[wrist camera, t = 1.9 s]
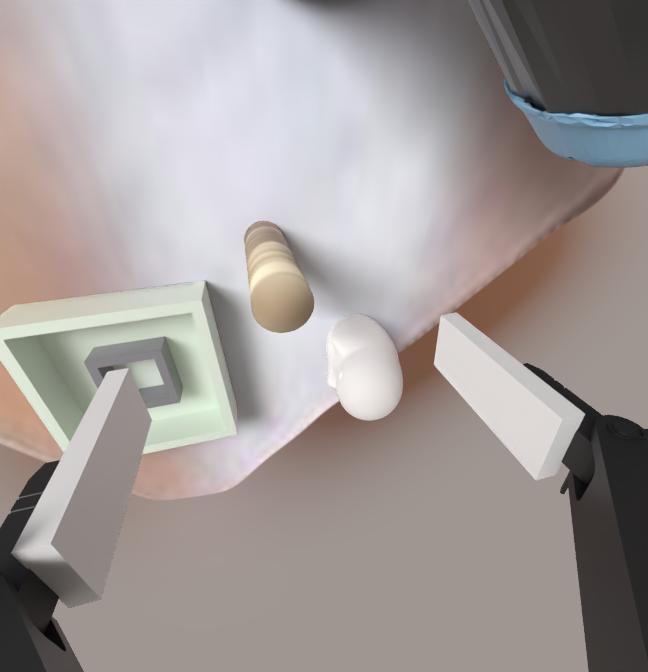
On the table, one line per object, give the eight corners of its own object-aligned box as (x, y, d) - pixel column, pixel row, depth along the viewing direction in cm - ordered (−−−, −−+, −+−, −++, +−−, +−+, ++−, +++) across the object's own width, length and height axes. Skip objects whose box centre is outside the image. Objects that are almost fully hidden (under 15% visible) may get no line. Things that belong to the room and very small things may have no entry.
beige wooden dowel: (241, 223, 30) (246, 280, 18) (281, 219, 30) (311, 271, 19) (248, 262, 32) (256, 337, 20) (285, 257, 32) (315, 327, 21)
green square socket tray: (13, 305, 29) (-20, 330, 25) (205, 280, 32) (201, 300, 28) (90, 434, 37) (74, 468, 33) (237, 406, 40) (237, 434, 36)
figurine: (318, 310, 36) (352, 378, 26) (384, 308, 38) (439, 370, 28) (315, 364, 39) (342, 443, 29) (375, 360, 41) (421, 432, 31)
